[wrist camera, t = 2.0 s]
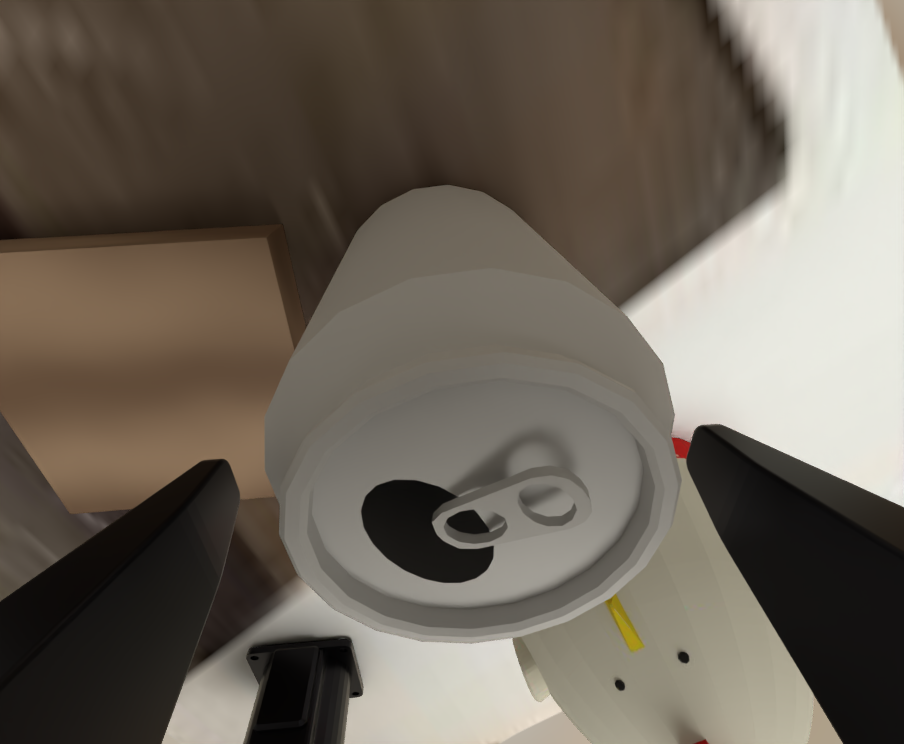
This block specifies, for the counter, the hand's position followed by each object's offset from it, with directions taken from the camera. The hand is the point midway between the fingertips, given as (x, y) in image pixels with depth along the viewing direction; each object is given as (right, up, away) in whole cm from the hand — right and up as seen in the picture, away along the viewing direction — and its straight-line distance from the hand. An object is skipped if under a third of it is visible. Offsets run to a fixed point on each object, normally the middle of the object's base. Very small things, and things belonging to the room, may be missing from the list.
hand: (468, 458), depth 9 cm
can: (-1, +5, +9) cm, 10 cm away
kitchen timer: (+9, -7, +17) cm, 20 cm away
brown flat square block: (-12, +2, +10) cm, 15 cm away
